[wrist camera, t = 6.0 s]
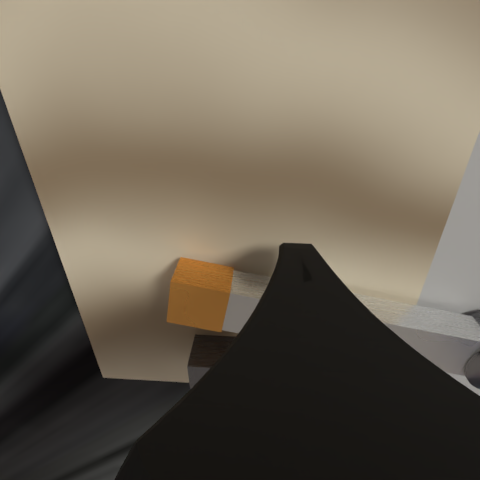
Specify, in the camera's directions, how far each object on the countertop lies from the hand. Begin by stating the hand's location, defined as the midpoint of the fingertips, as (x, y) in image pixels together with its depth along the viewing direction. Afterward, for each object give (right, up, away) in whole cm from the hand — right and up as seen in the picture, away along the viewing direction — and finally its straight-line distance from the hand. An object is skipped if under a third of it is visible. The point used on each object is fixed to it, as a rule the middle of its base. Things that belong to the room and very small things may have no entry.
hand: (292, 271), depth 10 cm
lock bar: (+2, -1, +2) cm, 3 cm away
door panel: (-2, +3, +1) cm, 4 cm away
